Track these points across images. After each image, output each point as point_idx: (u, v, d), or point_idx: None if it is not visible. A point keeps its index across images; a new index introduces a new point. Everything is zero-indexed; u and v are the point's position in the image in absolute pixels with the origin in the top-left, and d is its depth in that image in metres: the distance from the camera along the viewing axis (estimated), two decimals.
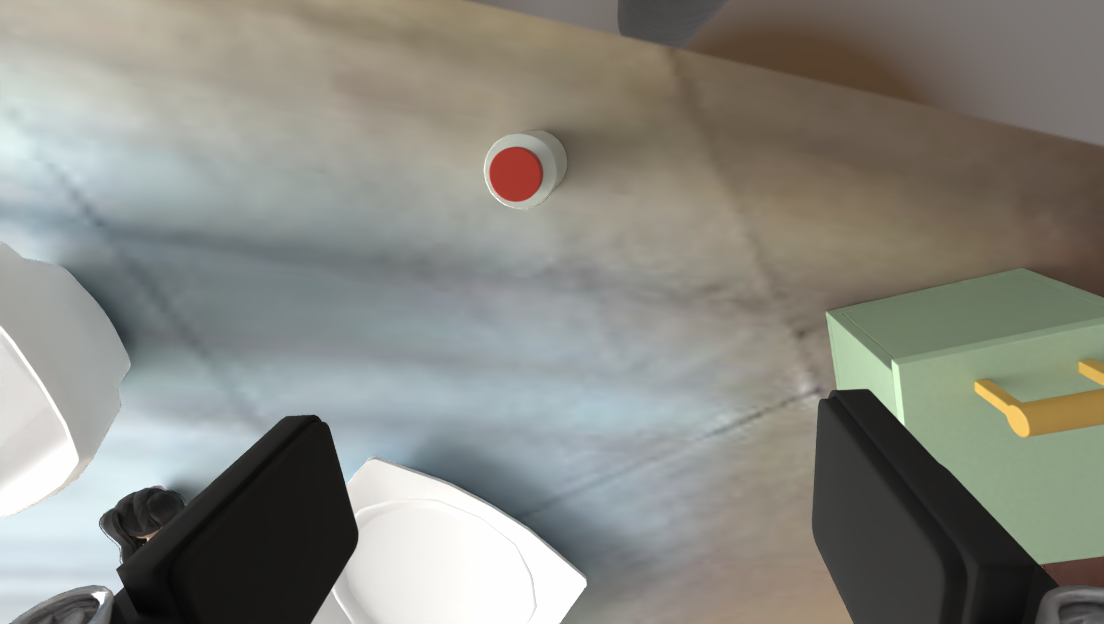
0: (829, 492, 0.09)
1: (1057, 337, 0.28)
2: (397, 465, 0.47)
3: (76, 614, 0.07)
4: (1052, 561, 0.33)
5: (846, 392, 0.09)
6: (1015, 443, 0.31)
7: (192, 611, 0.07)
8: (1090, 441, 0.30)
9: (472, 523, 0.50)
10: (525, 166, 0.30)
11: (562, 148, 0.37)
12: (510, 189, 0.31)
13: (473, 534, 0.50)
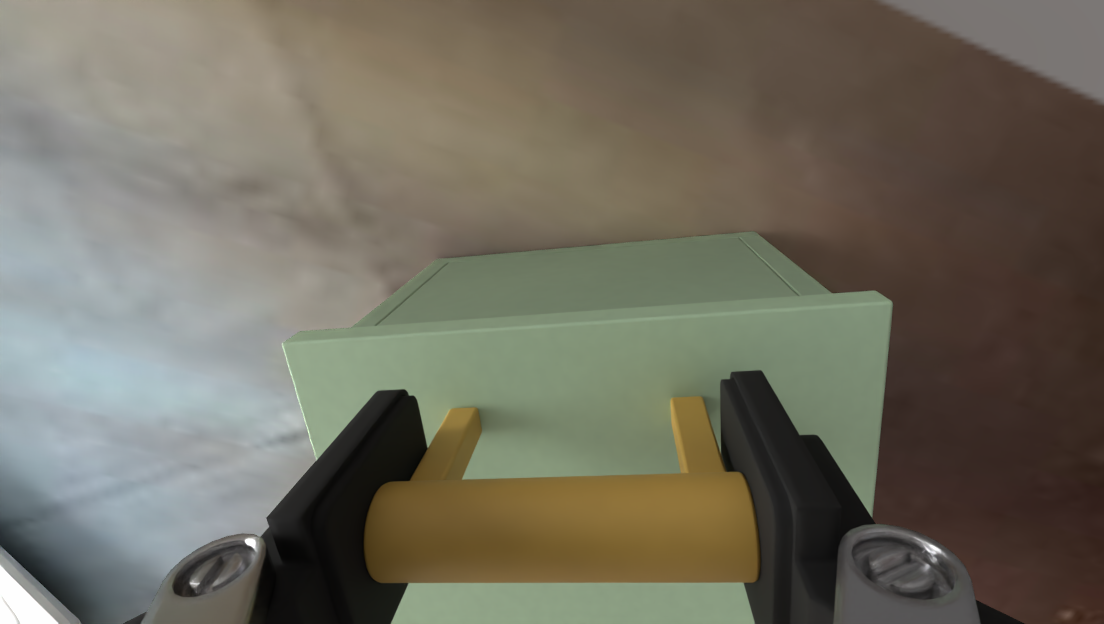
0: (727, 463, 0.10)
1: (621, 330, 0.11)
2: None
3: (237, 559, 0.07)
4: None
5: (741, 373, 0.10)
6: None
7: (330, 558, 0.08)
8: None
9: None
10: None
11: None
12: None
13: None
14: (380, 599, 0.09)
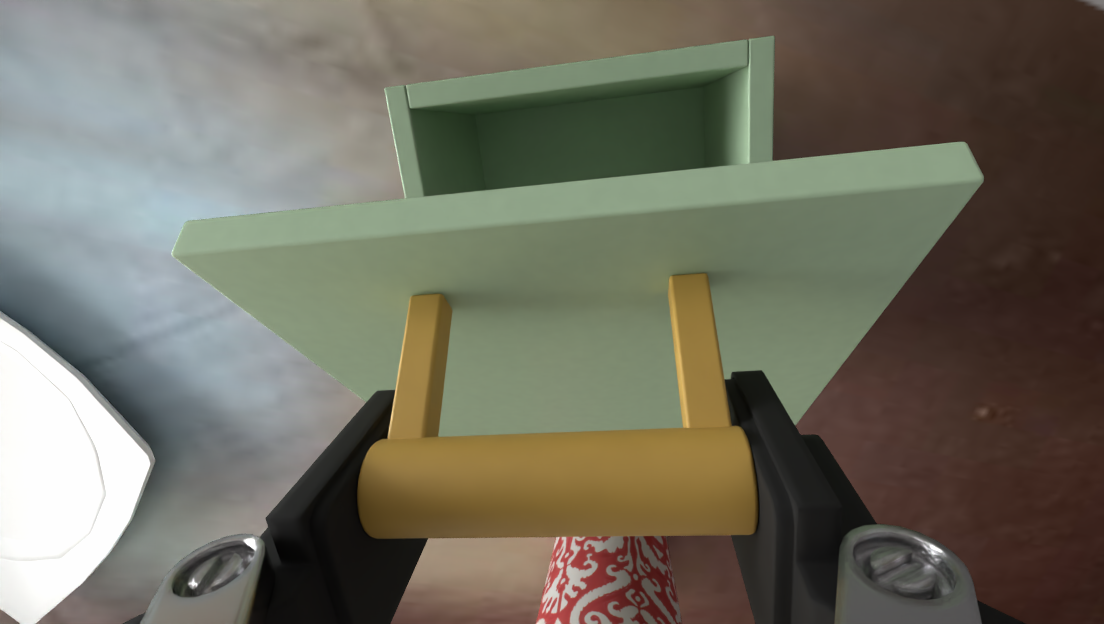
0: None
1: (611, 223, 0.09)
2: None
3: (236, 560, 0.07)
4: None
5: (742, 373, 0.10)
6: (544, 376, 0.14)
7: (329, 558, 0.08)
8: None
9: (18, 362, 0.36)
10: None
11: None
12: None
13: (22, 379, 0.37)
14: (379, 599, 0.09)
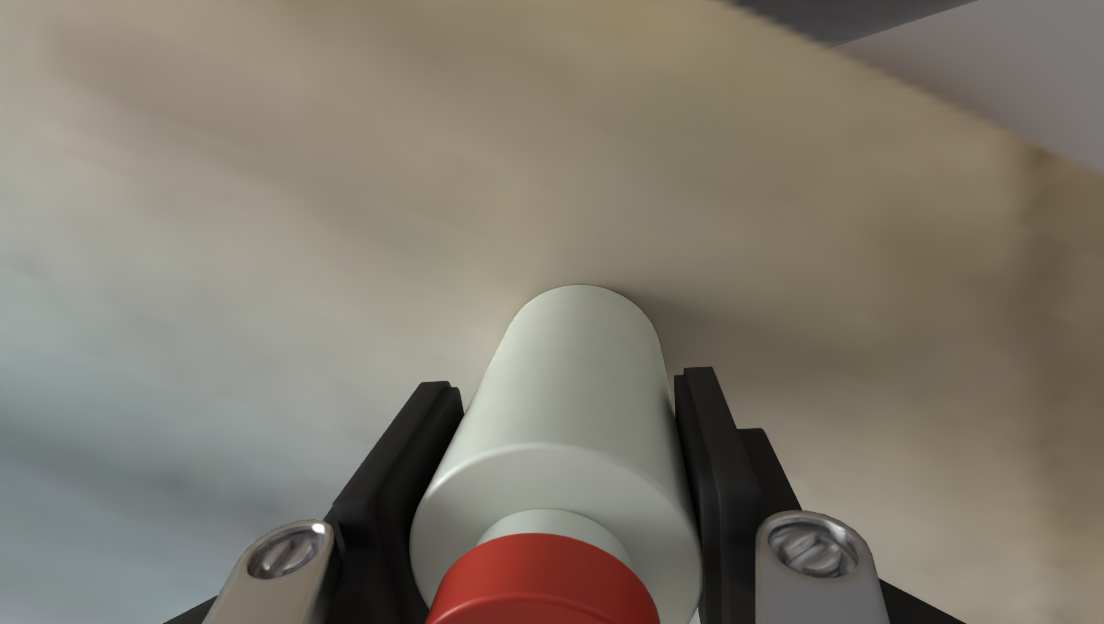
0: None
1: None
2: None
3: (306, 545, 0.07)
4: None
5: (692, 369, 0.10)
6: None
7: (392, 544, 0.08)
8: None
9: None
10: None
11: None
12: None
13: None
14: None
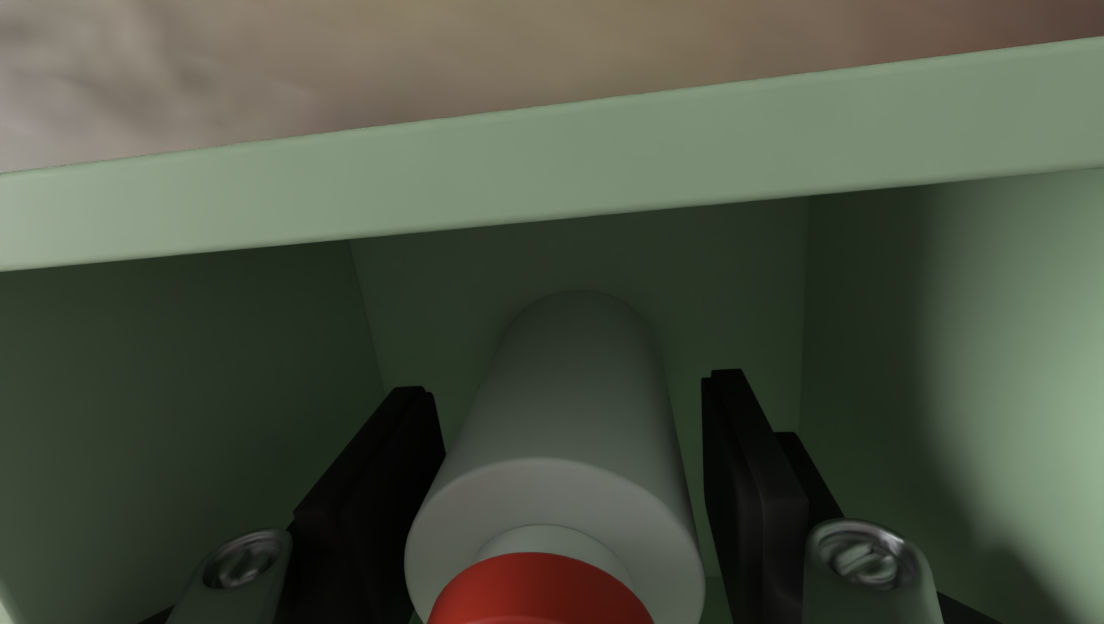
0: (707, 459, 0.10)
1: None
2: None
3: (264, 553, 0.07)
4: None
5: (720, 371, 0.10)
6: None
7: (354, 552, 0.08)
8: None
9: None
10: None
11: None
12: None
13: None
14: (401, 593, 0.09)
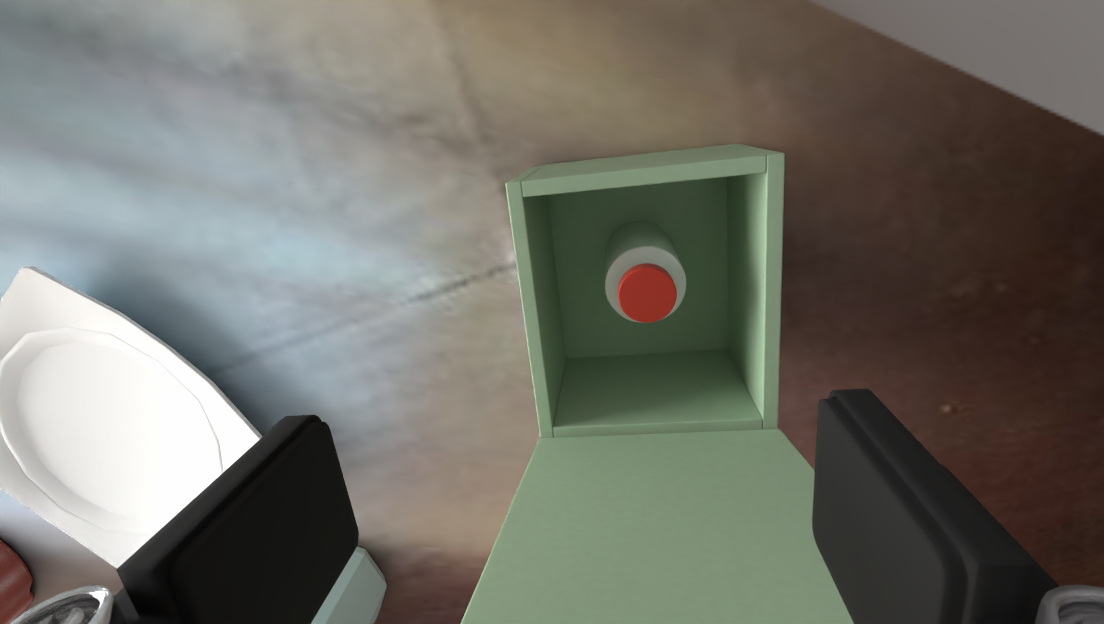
0: (829, 492, 0.09)
1: None
2: (57, 281, 0.40)
3: (76, 614, 0.07)
4: None
5: (846, 392, 0.09)
6: None
7: (192, 611, 0.07)
8: None
9: (155, 370, 0.44)
10: (661, 289, 0.28)
11: None
12: (638, 309, 0.28)
13: (157, 384, 0.45)
14: None
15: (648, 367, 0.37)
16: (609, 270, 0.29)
